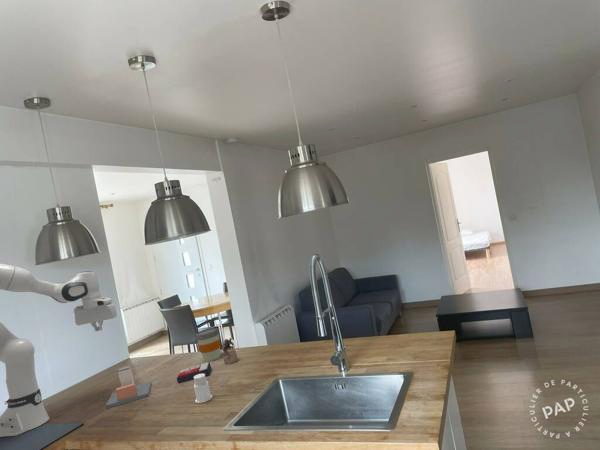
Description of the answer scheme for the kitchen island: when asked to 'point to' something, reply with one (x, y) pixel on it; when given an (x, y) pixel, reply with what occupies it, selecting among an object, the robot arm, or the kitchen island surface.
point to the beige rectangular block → (125, 376)
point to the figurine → (229, 352)
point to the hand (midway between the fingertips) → (98, 330)
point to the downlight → (201, 389)
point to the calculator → (194, 372)
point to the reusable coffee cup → (209, 344)
